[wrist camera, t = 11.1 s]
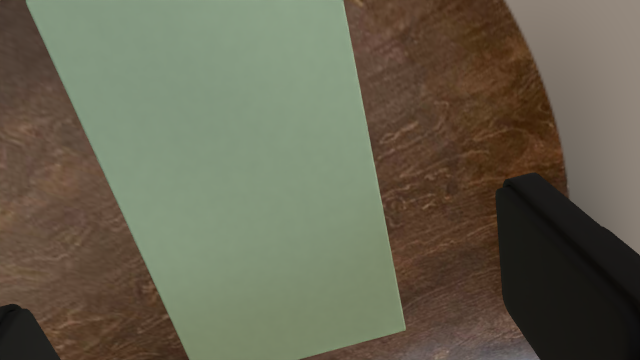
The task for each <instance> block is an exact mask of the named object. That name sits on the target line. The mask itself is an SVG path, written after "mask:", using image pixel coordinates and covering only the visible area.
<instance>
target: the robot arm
mask: <svg viewBox="0 0 640 360" xmlns="http://www.w3.org/2000/svg"><path fill="white" fill-rule="evenodd" d="M496 210H497V224H498V239H499V253H500V267H501V281H502V295H503V300H504V303H505V306H506V309H507V311H508V313H509V314H510V316H511V317H512V319H513V320H514V322H515V323H516V325H517V326H518V328H519V329H520V331H521V332H522V333H523V335H524V336H525V338H526V339H527V341H528V342H529V344H530V345H531V347H532V348H533V350H534V351H535V353H536V354H537V356H538V357H539V359H540V360H640V255H639V254H638V253H636V252H635V251H634V250H633V249H632V248H630V247H629V246H628V245H627V244H625V243H624V242H623V241H622V240H620V239H619V238H618V237H617V236H615V235H614V234H613V233H612V232H610V231H609V230H608V229H606V228H604V227H602V226H600V225H599V224H598V223H597V222H595V221H594V220H593V219H592V218H591V217H589V216H588V215H587V214H586V213H585V212H583V211H582V210H581V209H580V208H579V207H577V206H576V205H575V204H574V203H573V202H571V201H570V200H569V199H568V198H566V197H565V196H564V195H563V194H562V193H560V192H559V191H558V190H557V189H556V188H554V187H553V186H552V185H551V184H550V183H548V182H547V181H546V180H545V179H544V178H542V177H541V176H540V175H539V174H537V173H529V174H525V175H521V176H517V177H513V178H510V179H506V180H505V181H504V184H503V188H500V189H497V190H496ZM0 360H61V359H60V358H59V356H58V355H57V353H56V351H55V350H54V348H53V347H52V345H51V343H50V342H49V340H48V339H47V337H46V335H45V334H44V332H43V330H42V329H41V327H40V326H39V324H38V322H37V321H36V319H35V318H34V316H33V314H32V313H31V312H30V311H29V310H27V309H22V308H21V307H20V306H18V305H16V304H9V305H5V306H1V307H0Z"/></svg>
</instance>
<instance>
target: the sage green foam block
mask: <svg viewBox="0 0 640 360" xmlns="http://www.w3.org/2000/svg"><path fill="white" fill-rule="evenodd" d="M26 4H27V6H28V9H29V11H30V13H31V15H32V17H33V20H34V22H35V24H36V26H37V28H38V30H39V33H40V35H41V37H42V39H43V41H44V44H45V46H46V48H47V50H48V52H49V54H50V57H51V59H52V61H53V63H54V65H55V68H56V70H57V72H58V74H59V76H60V79H61V81H62V83H63V85H64V87H65V89H66V92H67V94H68V96H69V98H70V100H71V103H72V105H73V107H74V109H75V111H76V113H77V116H78V118H79V120H80V122H81V124H82V127H83V129H84V131H85V133H86V135H87V137H88V140H89V142H90V144H91V146H92V148H93V151H94V153H95V155H96V157H97V159H98V162H99V164H100V166H101V168H102V170H103V172H104V175H105V177H106V179H107V181H108V183H109V186H110V188H111V190H112V192H113V194H114V196H115V199H116V201H117V203H118V205H119V207H120V210H121V212H122V214H123V216H124V218H125V220H126V223H127V225H128V227H129V229H130V231H131V234H132V236H133V238H134V240H135V242H136V244H137V247H138V249H139V251H140V253H141V255H142V258H143V260H144V262H145V264H146V266H147V269H148V271H149V273H150V275H151V277H152V279H153V282H154V284H155V286H156V288H157V290H158V293H159V295H160V297H161V299H162V301H163V303H164V306H165V308H166V310H167V312H168V314H169V317H170V319H171V321H172V323H173V325H174V327H175V330H176V332H177V334H178V336H179V338H180V341H181V343H182V345H183V347H184V349H185V351H186V354H187V356H188V358H189V360H298V359H302V358H305V357H309V356H313V355H316V354H320V353H324V352H327V351H331V350H335V349H338V348H342V347H346V346H349V345H353V344H357V343H360V342H364V341H368V340H371V339H375V338H379V337H383V336H386V335H390V334H394V333H397V332H401V331H404V330H405V328H406V327H405V322H404V317H403V312H402V306H401V301H400V296H399V291H398V285H397V280H396V275H395V270H394V264H393V259H392V254H391V249H390V243H389V238H388V233H387V228H386V222H385V217H384V212H383V207H382V201H381V196H380V191H379V186H378V180H377V175H376V170H375V165H374V159H373V154H372V149H371V144H370V138H369V133H368V128H367V123H366V118H365V112H364V107H363V102H362V97H361V91H360V86H359V81H358V76H357V70H356V65H355V60H354V55H353V49H352V44H351V39H350V34H349V28H348V23H347V18H346V13H345V7H344V2H343V0H26Z"/></svg>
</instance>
